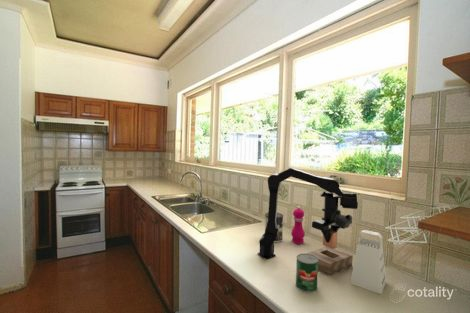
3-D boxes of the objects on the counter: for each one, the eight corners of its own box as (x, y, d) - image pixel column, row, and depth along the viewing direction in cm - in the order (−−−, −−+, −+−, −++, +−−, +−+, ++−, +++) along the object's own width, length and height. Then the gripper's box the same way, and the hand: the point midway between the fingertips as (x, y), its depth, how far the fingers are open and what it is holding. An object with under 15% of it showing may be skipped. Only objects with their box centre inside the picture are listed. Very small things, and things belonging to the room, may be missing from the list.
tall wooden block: (332, 249, 106) (333, 233, 106) (322, 245, 111) (323, 229, 110) (336, 247, 108) (337, 232, 108) (327, 243, 112) (327, 228, 112)
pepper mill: (305, 245, 132) (306, 208, 131) (291, 243, 133) (292, 207, 132) (304, 239, 139) (305, 205, 138) (291, 238, 140) (291, 204, 139)
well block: (329, 276, 100) (330, 264, 100) (306, 263, 110) (306, 253, 110) (352, 266, 109) (352, 255, 109) (328, 255, 119) (329, 245, 119)
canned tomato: (302, 294, 88) (303, 264, 87) (291, 282, 95) (292, 254, 95) (321, 290, 90) (322, 261, 90) (309, 279, 98) (310, 252, 97)
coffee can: (281, 235, 144) (281, 212, 144) (284, 242, 134) (284, 217, 134) (263, 235, 145) (264, 211, 144) (265, 242, 134) (265, 217, 134)
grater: (357, 272, 103) (359, 226, 103) (386, 281, 97) (388, 232, 96) (350, 283, 95) (352, 232, 94) (381, 294, 89) (383, 239, 88)
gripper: (334, 214, 97) (332, 253, 97) (360, 208, 107) (359, 243, 108) (311, 208, 106) (310, 243, 107) (337, 203, 116) (336, 235, 117)
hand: (329, 241), depth 109 cm, fingers closed on tall wooden block, 3 cm apart
